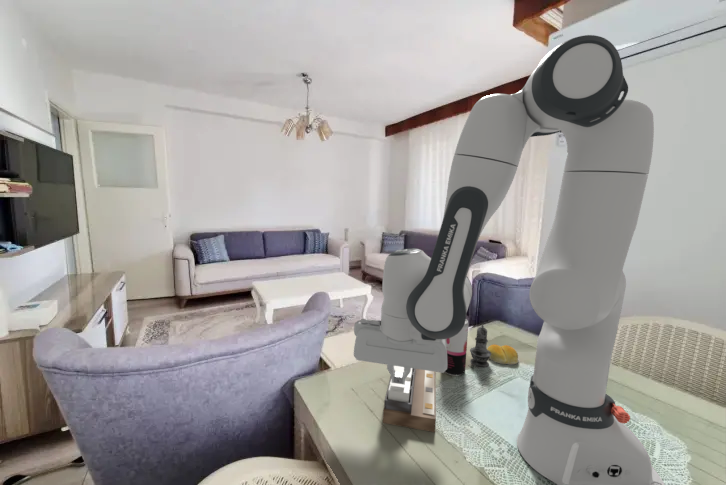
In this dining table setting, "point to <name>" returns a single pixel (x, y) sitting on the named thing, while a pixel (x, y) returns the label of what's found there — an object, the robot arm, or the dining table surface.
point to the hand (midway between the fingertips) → (398, 382)
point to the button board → (414, 403)
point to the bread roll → (503, 354)
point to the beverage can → (457, 352)
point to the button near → (399, 392)
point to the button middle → (401, 370)
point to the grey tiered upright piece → (480, 349)
